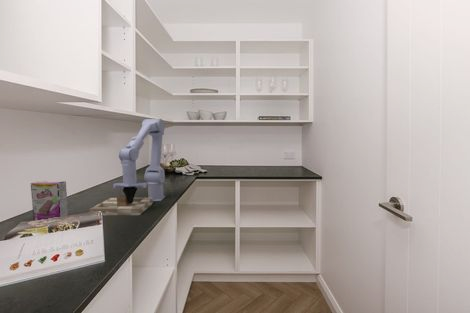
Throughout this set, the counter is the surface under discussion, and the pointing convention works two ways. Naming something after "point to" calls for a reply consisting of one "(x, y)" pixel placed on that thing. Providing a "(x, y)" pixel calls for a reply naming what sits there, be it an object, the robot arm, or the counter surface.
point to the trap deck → (123, 207)
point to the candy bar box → (49, 199)
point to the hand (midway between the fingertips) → (130, 202)
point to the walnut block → (122, 201)
